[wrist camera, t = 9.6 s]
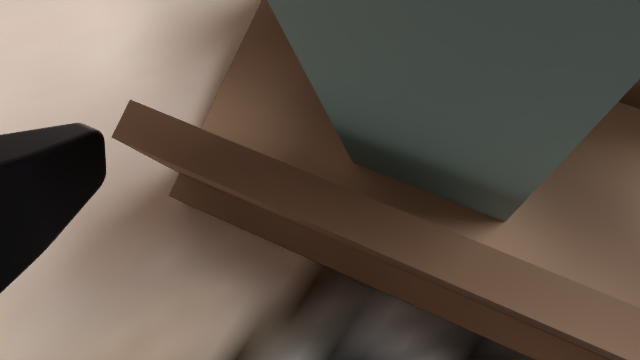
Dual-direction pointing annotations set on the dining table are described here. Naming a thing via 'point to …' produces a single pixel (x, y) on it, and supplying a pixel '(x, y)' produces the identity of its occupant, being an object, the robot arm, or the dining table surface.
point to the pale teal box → (465, 85)
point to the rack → (416, 211)
